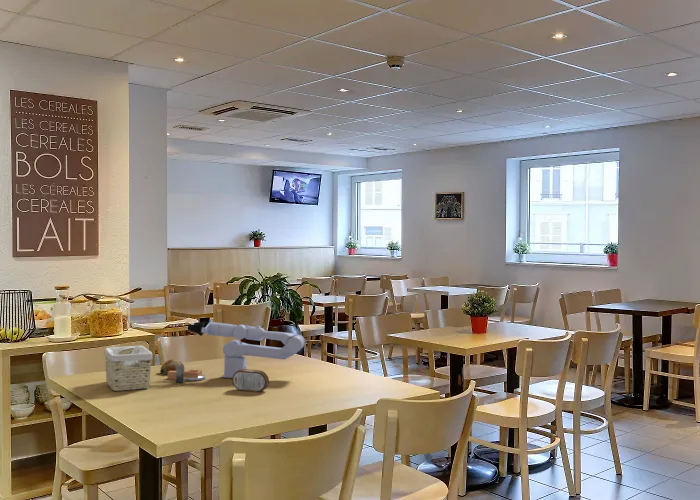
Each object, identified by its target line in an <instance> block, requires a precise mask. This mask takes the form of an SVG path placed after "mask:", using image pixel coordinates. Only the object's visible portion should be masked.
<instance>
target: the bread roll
mask: <svg viewBox="0 0 700 500" xmlns="http://www.w3.org/2000/svg"><path fill="white" fill-rule="evenodd" d="M178 365H183V366H184V367H185V365H184V363H183V362H182V361H181V360H179V359H175V358H172V359H168V360H167V361H165V362H164V363H163V364H162V365H161V366H160V369H159V372H161V373H162V375H166V376H168V372H169V371H176V366H178Z"/></svg>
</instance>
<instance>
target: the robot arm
mask: <svg viewBox="0 0 700 500" xmlns="http://www.w3.org/2000/svg"><path fill="white" fill-rule="evenodd" d="M213 321H214V320H213V319H211V318H210V319H209V320H207V321H203V322H202V321H201V322H194V323H193V324H188V325H187V331H189V332H193V333H195V334H197V335H199V336H201V337H202V336H203V333H204V334H206V335H208V336H216V337H223V338H225V337H227V338H234V339H232V340H231V341H229V342H225V344H224V345H223V347H222V352H223V354H224V359H223V362H224V367H223V369H224V370H223V373H224V374H223V375H221V376H220V377H221V378H227V379H229V378H230V379H232V377H233V375H234V373H235V372H237V371H238V370H240V369H247V365H248V364H247V358H246V356H249V357H259V358H266V359H267V358H268V359H274V360H275V359H277V360H287V359H288V358H290V357H292V356H294V355H296V354H298V352H300V351H301V350H302V349H303V347H305V344H306V340H305V337H304V336H303V335H301V334H296V333H293V332H282V331H270V330H269V331H268V330H265V329H264V328H263V327H261V326H260V325H256V326H249V324H246V325H245V324H243V323H242V324H231V323H224V322H215V321H214V322H213ZM244 339H245V340H251V341H259V342H261V341H263V339H268V340H274V341H275V340H276V341H280V342H281V343H282V344H283V345H284V346H283V347H276V346H267V345H259V344H250V343H246V342H242V341H241V340H244Z"/></svg>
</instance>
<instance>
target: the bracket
mask: <svg viewBox="0 0 700 500" xmlns="http://www.w3.org/2000/svg"><path fill="white" fill-rule="evenodd" d="M201 375H203V370H202V369H188V370H184V377H189V378H198V377H200V376H201ZM167 379H168V380H176V371H169V372H168V375H167Z"/></svg>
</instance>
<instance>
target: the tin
mask: <svg viewBox="0 0 700 500" xmlns="http://www.w3.org/2000/svg"><path fill="white" fill-rule="evenodd" d="M231 379H232V385H233V387H234V388H235V389H236V390H237V391H240V392H241V391H242V392H243V391H244V392H252V391H258V392H257V393H261V392H263V391H265V390H266V389H268V386H269V383H270V379H269V376H268V374H267V373H266V372H265V371H263V370H260V369H247V368H246V369H240V370H238V371H237V372H235V373H234V375H233V377H232V378H231ZM259 391H260V392H259Z"/></svg>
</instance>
